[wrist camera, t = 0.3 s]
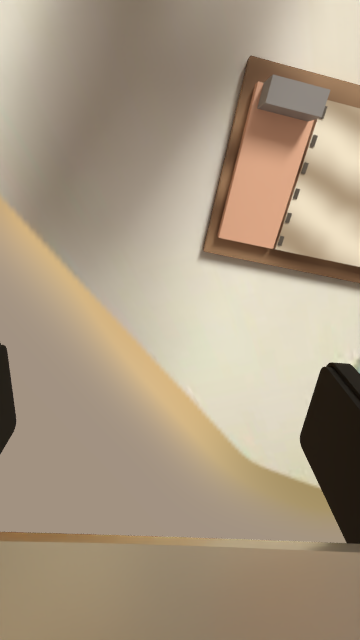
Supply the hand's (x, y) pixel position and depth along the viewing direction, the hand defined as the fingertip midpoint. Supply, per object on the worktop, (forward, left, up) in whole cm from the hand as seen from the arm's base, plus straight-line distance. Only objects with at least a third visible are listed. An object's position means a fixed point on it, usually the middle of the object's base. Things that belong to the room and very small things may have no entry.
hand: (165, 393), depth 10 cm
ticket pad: (-8, +15, -30) cm, 34 cm away
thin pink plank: (-7, +8, -29) cm, 31 cm away
